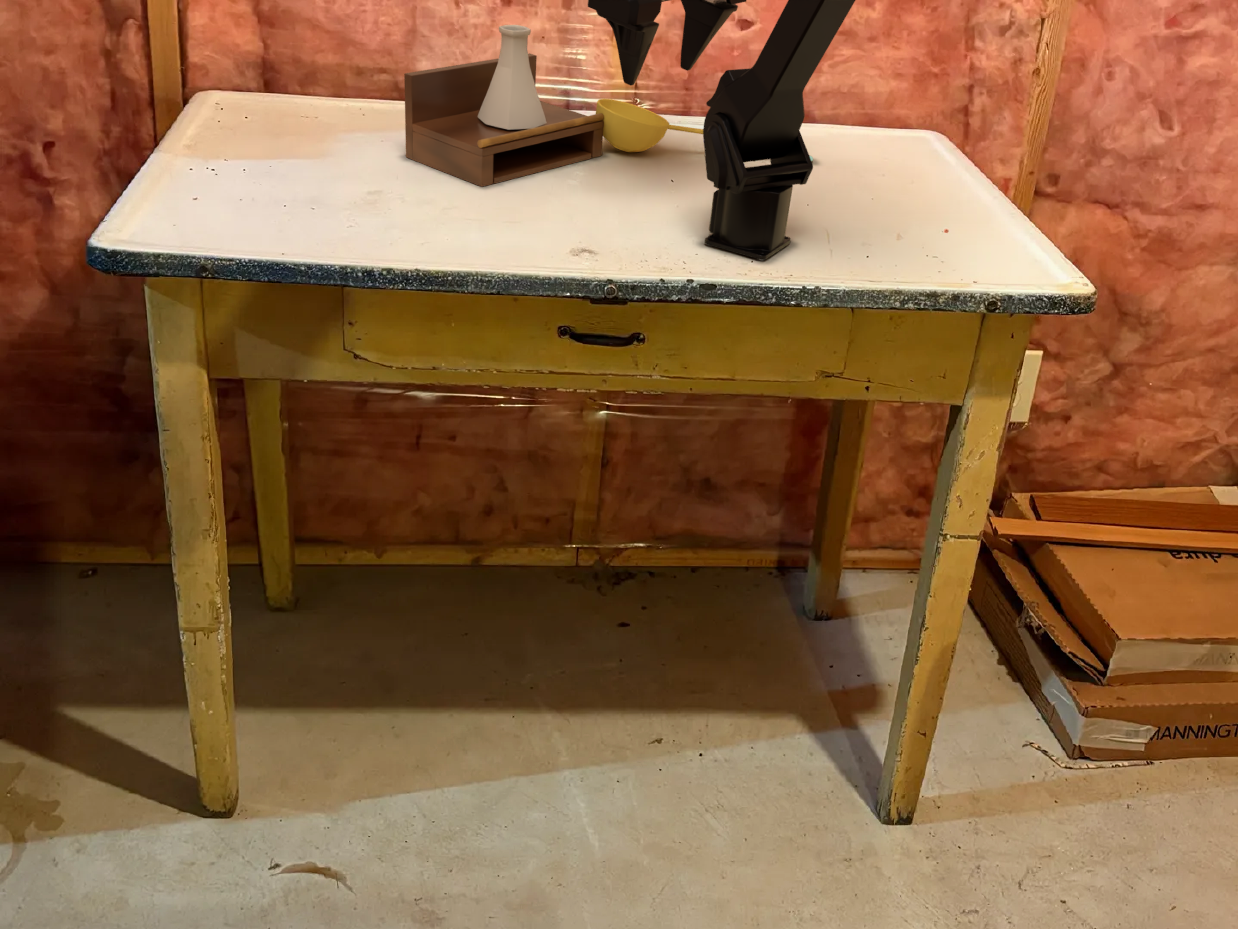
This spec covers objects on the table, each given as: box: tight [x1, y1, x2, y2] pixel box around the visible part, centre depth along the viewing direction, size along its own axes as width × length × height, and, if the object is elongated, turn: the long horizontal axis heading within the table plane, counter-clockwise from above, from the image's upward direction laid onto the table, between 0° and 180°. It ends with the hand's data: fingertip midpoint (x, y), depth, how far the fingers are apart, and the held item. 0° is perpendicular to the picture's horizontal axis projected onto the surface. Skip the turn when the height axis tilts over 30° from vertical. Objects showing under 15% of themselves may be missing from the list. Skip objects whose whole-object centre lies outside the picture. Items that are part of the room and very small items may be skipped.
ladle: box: [595, 98, 814, 162], centre depth 135 cm, size 9×26×6 cm, turn 93°
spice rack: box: [403, 52, 604, 188], centre depth 126 cm, size 12×19×9 cm, turn 139°
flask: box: [478, 24, 547, 130], centre depth 124 cm, size 7×7×10 cm
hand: (657, 76), depth 117 cm, fingers open, 9 cm apart
